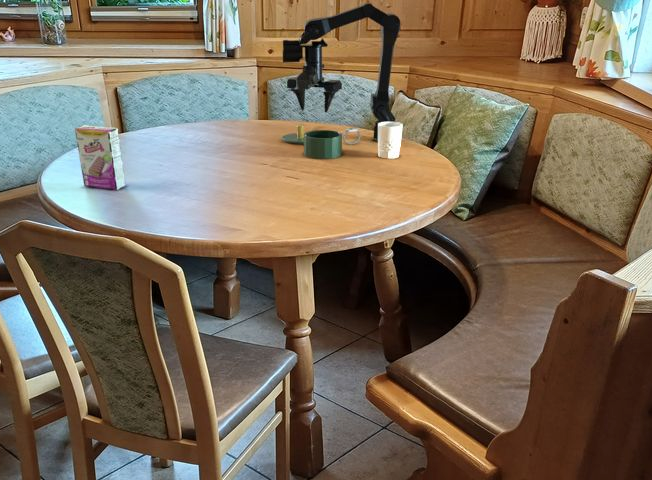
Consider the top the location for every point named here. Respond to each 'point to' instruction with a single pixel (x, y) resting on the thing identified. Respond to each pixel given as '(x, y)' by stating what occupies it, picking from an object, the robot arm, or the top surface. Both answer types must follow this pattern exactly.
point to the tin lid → (295, 136)
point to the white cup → (389, 139)
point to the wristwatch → (351, 131)
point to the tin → (322, 144)
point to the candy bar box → (100, 157)
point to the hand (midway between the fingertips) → (314, 111)
